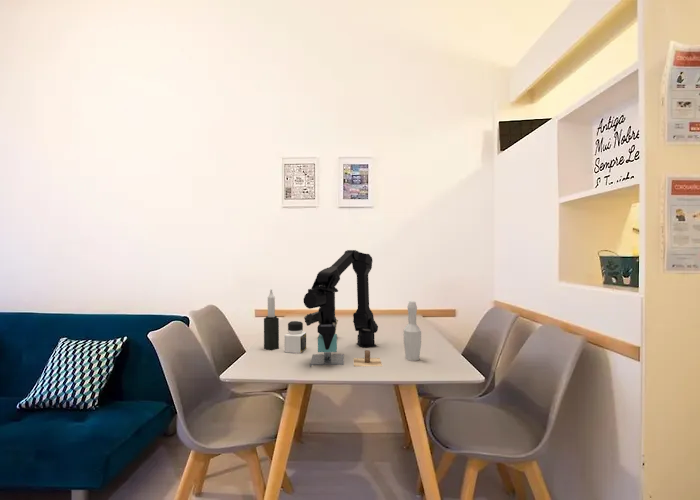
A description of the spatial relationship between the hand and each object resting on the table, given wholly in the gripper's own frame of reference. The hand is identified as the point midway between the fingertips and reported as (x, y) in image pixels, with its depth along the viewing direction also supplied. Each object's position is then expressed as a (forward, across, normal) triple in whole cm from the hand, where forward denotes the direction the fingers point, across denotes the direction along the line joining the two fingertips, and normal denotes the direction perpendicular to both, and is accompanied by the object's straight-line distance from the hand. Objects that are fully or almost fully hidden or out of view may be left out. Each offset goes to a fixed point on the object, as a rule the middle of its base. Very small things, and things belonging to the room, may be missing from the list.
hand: (327, 346), depth 142 cm
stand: (+5, +3, +15) cm, 16 cm away
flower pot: (+6, -36, -1) cm, 36 cm away
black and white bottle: (+6, -19, -25) cm, 32 cm away
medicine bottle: (+6, -16, -14) cm, 22 cm away
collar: (+1, 0, 0) cm, 1 cm away
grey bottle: (+6, 0, +32) cm, 32 cm away
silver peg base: (+5, 0, 0) cm, 5 cm away
